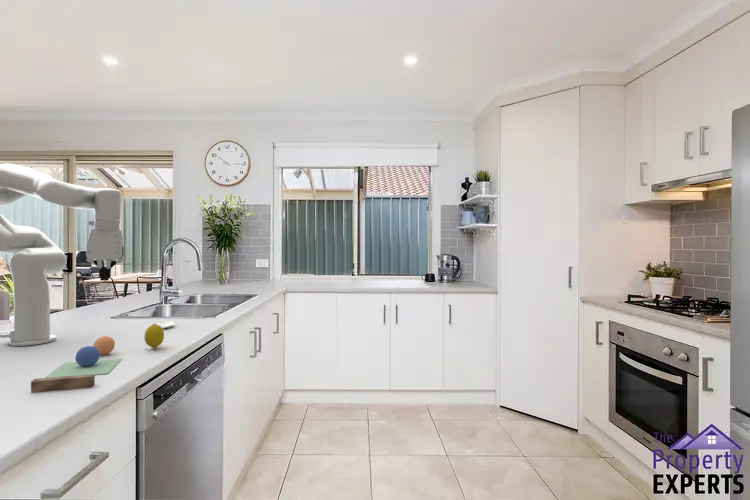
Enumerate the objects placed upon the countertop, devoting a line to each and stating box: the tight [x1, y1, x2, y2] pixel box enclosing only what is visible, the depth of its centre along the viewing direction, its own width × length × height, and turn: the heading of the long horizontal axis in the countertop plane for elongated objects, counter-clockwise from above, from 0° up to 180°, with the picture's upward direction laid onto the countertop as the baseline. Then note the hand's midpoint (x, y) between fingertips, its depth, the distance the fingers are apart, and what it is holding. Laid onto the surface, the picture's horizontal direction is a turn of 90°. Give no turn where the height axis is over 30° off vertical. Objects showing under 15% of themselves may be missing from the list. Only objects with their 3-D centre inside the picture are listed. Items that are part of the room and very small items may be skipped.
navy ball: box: [74, 345, 100, 367], centre depth 118 cm, size 6×6×6 cm
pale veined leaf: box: [155, 318, 175, 330], centre depth 170 cm, size 8×12×2 cm, turn 21°
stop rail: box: [30, 374, 96, 393], centre depth 100 cm, size 12×2×2 cm, turn 109°
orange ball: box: [92, 335, 116, 356], centre depth 130 cm, size 6×6×6 cm
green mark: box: [44, 358, 122, 378], centre depth 116 cm, size 14×14×1 cm
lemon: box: [144, 323, 165, 349], centre depth 137 cm, size 6×6×8 cm
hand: (104, 280), depth 144 cm, fingers closed
